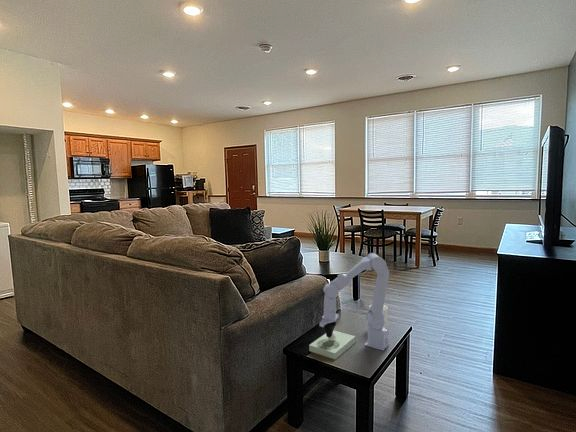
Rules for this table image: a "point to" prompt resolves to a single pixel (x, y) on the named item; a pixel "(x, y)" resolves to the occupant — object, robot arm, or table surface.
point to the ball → (332, 337)
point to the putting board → (332, 345)
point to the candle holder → (385, 311)
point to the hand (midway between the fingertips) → (329, 336)
